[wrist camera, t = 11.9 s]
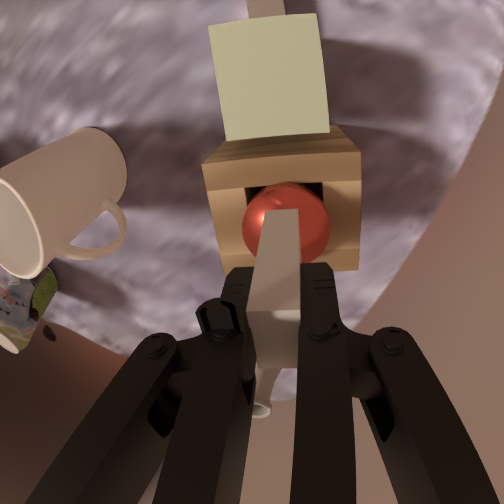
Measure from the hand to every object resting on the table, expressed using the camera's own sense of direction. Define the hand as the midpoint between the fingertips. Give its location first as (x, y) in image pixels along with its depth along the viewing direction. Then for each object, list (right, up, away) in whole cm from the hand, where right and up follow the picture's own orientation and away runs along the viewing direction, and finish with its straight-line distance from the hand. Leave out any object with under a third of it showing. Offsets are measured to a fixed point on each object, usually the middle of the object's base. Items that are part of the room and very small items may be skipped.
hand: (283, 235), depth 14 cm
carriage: (0, +12, +6) cm, 13 cm away
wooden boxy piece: (+1, +6, +9) cm, 11 cm away
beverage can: (-29, -4, +20) cm, 35 cm away
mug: (-15, +6, +12) cm, 20 cm away
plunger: (+1, +4, +7) cm, 8 cm away
